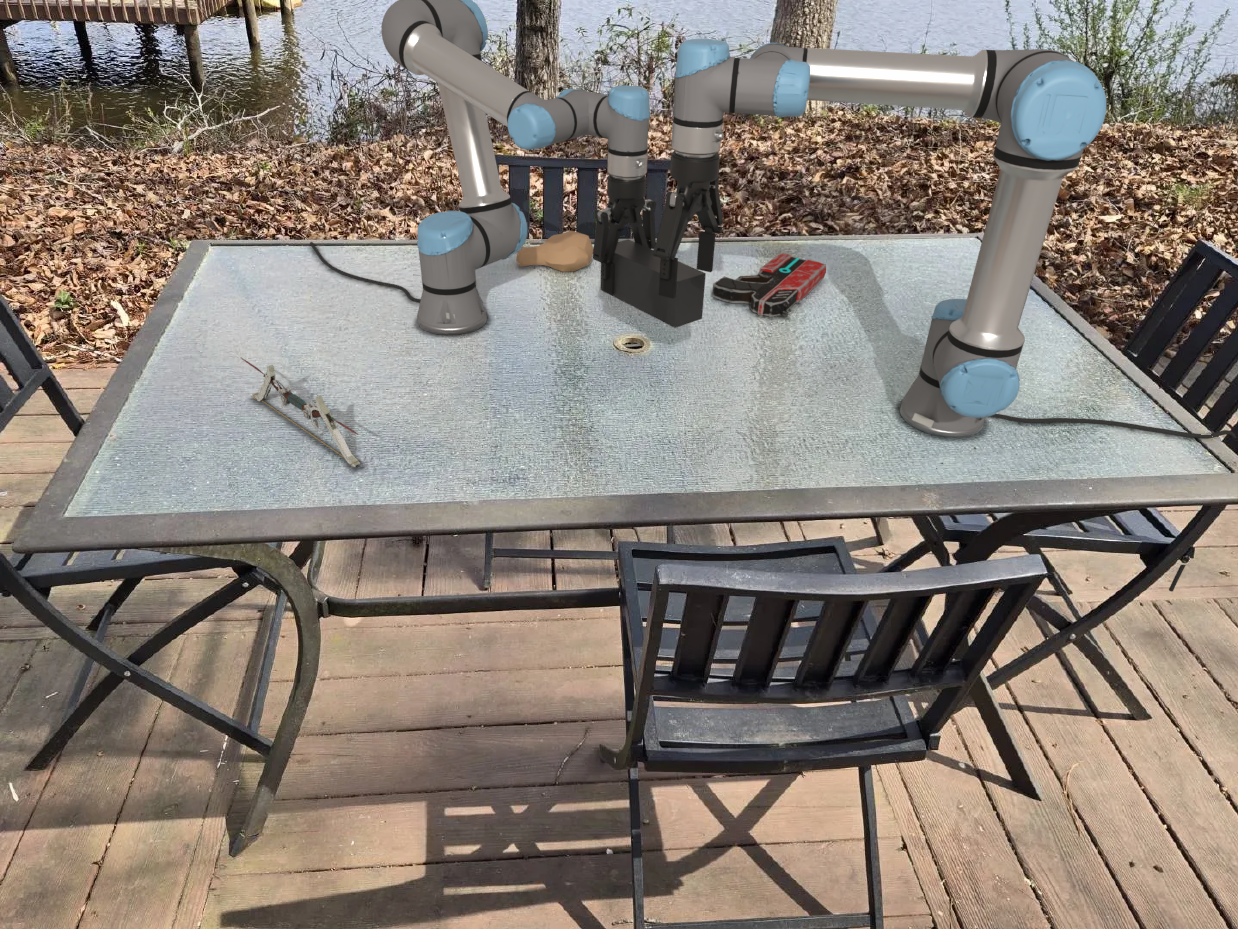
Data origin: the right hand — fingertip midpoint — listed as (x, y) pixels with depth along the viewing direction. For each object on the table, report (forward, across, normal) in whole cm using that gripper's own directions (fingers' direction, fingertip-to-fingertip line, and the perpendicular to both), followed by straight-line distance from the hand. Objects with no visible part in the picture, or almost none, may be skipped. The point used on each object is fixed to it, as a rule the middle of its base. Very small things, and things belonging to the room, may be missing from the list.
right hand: (686, 282), depth 146 cm
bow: (+28, -38, +55) cm, 73 cm away
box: (+15, +19, +17) cm, 29 cm away
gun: (+28, +70, +10) cm, 76 cm away
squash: (+28, +53, +63) cm, 87 cm away
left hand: (+14, +22, +24) cm, 36 cm away
